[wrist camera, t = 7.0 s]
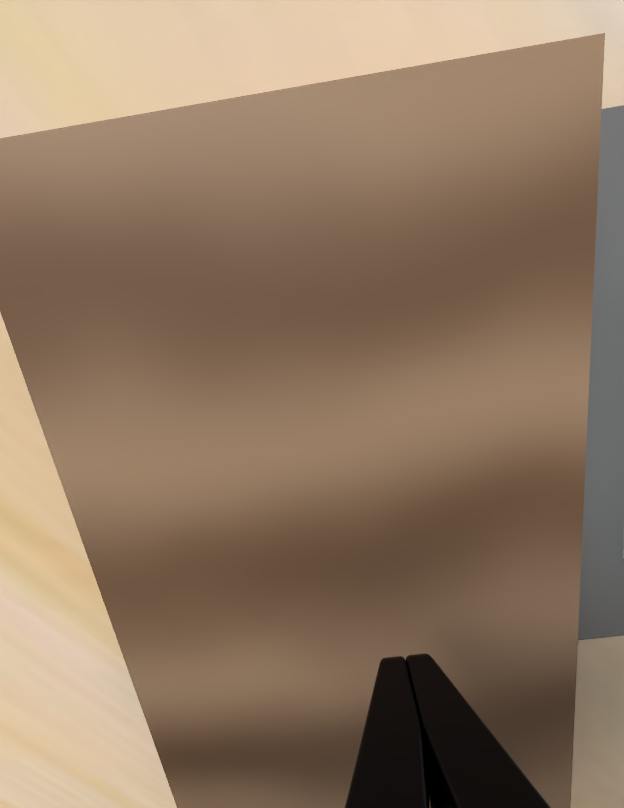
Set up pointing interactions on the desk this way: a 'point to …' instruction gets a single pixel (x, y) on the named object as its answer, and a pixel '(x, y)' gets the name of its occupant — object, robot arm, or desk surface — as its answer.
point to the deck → (323, 402)
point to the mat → (606, 402)
